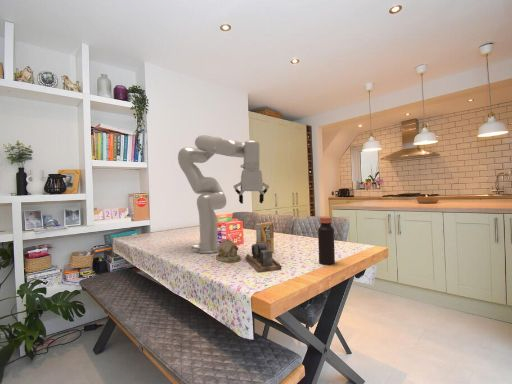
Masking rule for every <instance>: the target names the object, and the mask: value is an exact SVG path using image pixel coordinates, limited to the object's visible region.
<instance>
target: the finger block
mask: <svg viewBox="0 0 512 384" xmlns="http://www.w3.org/2000/svg"><path fill="white" fill-rule="evenodd" d="M255 244H256V245H255V255H256V260H257V261H258V262H259V263H261V262H260V252H261V250H269V245H268V243H266V242H265V241H262V242H256V241H255Z"/></svg>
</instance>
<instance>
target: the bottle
mask: <svg viewBox="0 0 512 384" xmlns="http://www.w3.org/2000/svg"><path fill="white" fill-rule="evenodd" d="M319 224H320V226H319V227H318V229H317V239H318V245H317V246H318V262H319V264H321V265H325V266H326V265H327V266H331V265H334V264H335V263H336V262H335V261H336V260H335V259H336V257H335V256H336V255H335V254H336V253H335V229H334V228H333V226H332V217H331V216H320V217H319Z"/></svg>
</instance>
